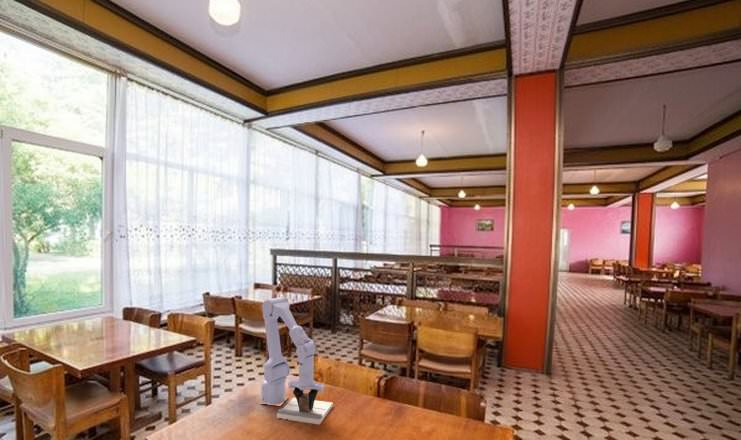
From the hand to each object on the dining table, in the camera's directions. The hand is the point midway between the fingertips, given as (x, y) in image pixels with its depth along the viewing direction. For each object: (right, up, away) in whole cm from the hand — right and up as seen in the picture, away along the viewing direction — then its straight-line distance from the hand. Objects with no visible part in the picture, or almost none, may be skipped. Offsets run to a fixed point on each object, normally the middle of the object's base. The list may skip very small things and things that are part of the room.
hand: (305, 407), depth 132 cm
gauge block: (0, -1, 0) cm, 1 cm away
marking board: (0, -3, +2) cm, 4 cm away
